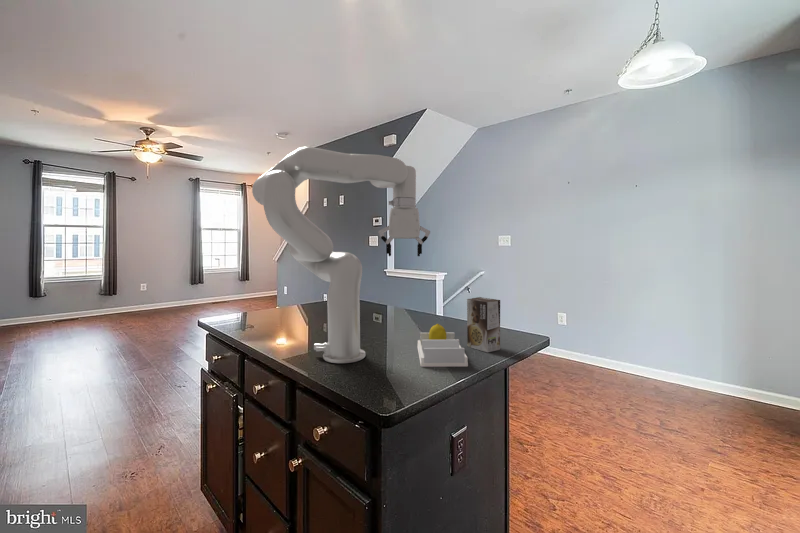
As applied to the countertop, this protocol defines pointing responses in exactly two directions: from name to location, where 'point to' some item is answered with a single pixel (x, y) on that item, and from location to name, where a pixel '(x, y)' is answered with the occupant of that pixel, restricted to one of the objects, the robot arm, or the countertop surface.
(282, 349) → the countertop surface
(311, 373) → the countertop surface
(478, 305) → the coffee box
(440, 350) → the dish rack
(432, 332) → the lemon
